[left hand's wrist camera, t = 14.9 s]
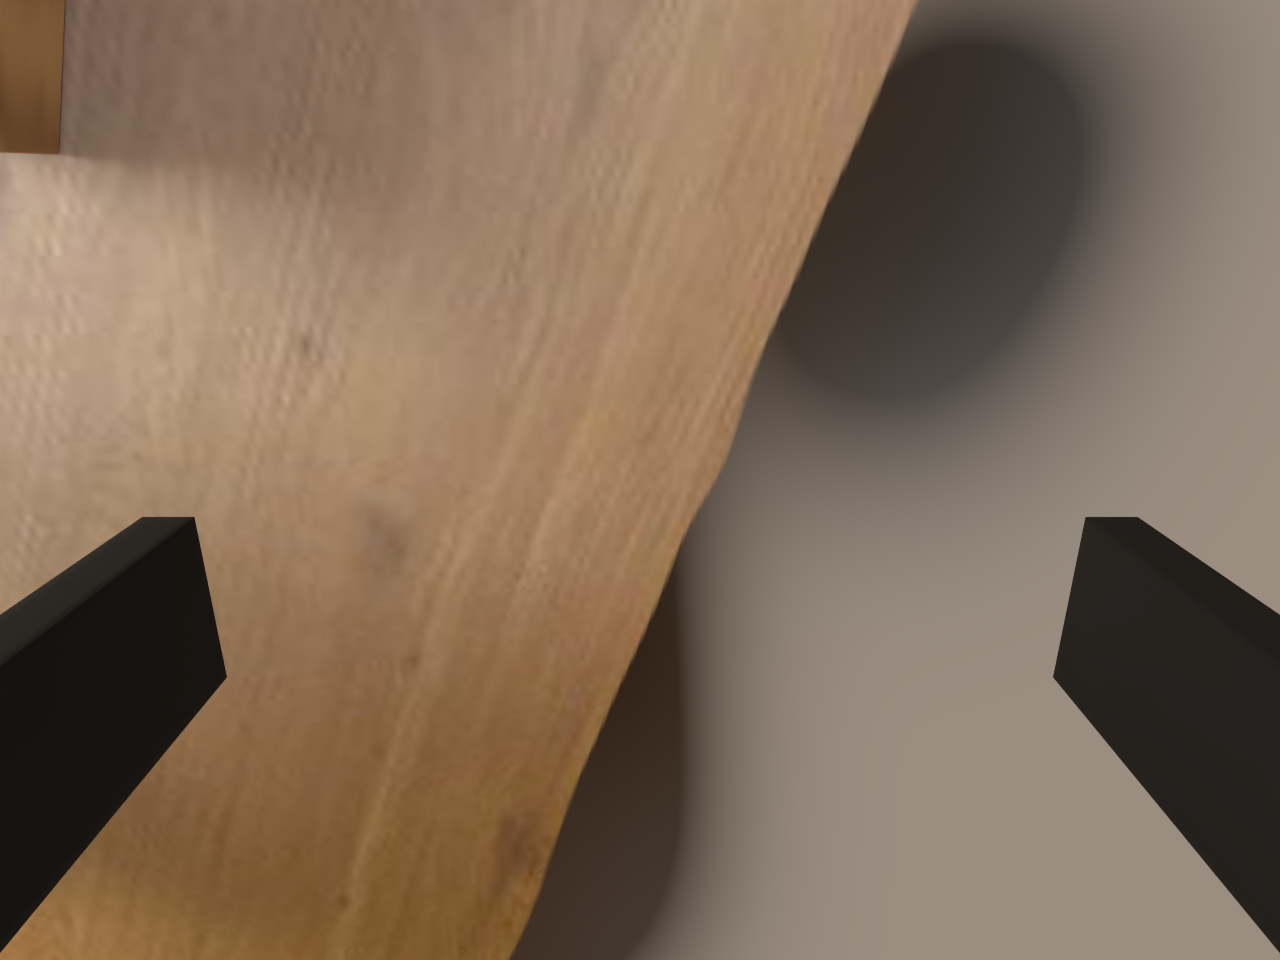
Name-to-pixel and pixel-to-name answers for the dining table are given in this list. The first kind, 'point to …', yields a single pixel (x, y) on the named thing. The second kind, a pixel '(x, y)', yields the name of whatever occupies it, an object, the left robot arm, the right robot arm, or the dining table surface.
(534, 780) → the dining table surface
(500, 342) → the dining table surface
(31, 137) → the bar
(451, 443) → the dining table surface
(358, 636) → the dining table surface
